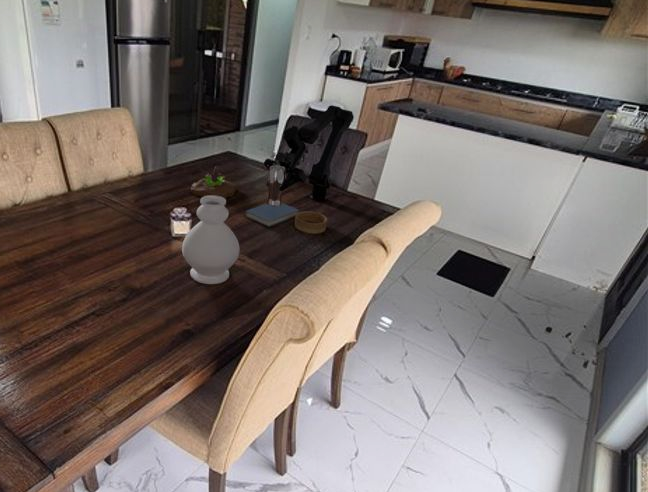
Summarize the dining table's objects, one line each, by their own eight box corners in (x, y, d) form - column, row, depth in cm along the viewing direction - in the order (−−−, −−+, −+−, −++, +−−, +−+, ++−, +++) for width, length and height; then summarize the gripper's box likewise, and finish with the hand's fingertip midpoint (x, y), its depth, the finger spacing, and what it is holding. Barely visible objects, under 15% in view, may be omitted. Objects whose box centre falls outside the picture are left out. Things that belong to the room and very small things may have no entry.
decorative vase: (195, 293, 137) (197, 216, 123) (173, 266, 150) (173, 192, 136) (247, 282, 144) (254, 207, 130) (222, 256, 157) (226, 186, 143)
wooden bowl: (288, 222, 185) (290, 213, 183) (314, 218, 190) (315, 209, 187) (305, 235, 176) (307, 225, 173) (331, 231, 181) (333, 221, 178)
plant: (242, 188, 214) (244, 165, 208) (225, 202, 199) (226, 176, 193) (204, 180, 220) (205, 157, 214) (184, 192, 205) (185, 168, 199)
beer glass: (285, 204, 188) (290, 167, 179) (277, 209, 183) (281, 172, 174) (271, 199, 191) (275, 163, 182) (262, 204, 186) (266, 167, 178)
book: (274, 205, 199) (275, 200, 198) (298, 215, 192) (299, 209, 190) (245, 216, 187) (245, 210, 186) (269, 227, 180) (270, 221, 179)
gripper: (268, 137, 181) (247, 170, 181) (306, 149, 171) (284, 184, 170) (279, 154, 190) (259, 185, 190) (315, 166, 180) (294, 199, 179)
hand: (273, 188), depth 182 cm, fingers closed on beer glass, 6 cm apart
